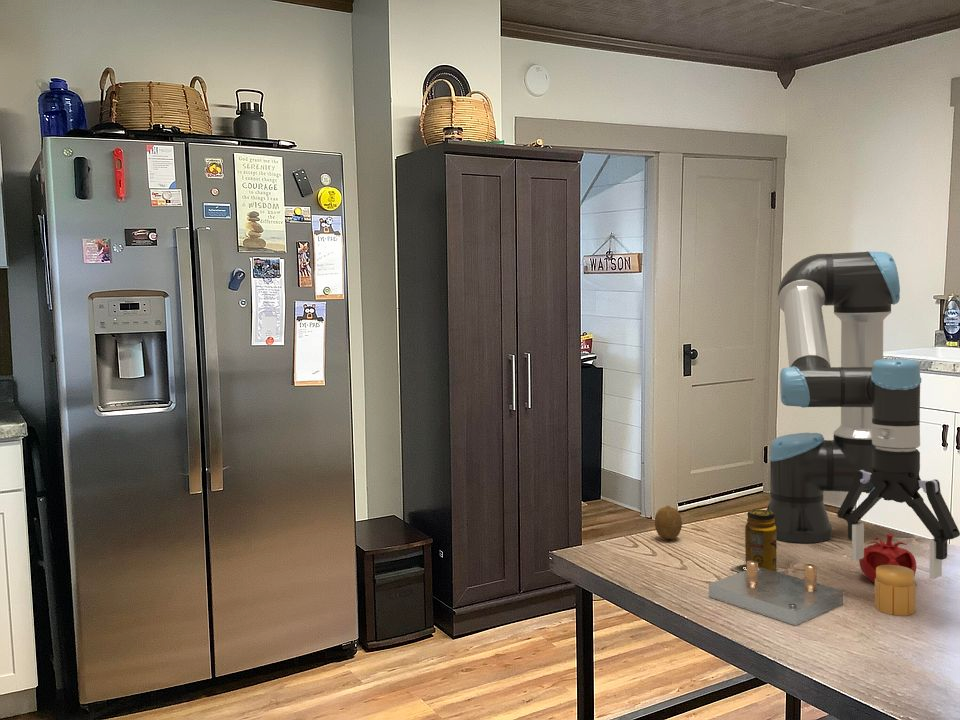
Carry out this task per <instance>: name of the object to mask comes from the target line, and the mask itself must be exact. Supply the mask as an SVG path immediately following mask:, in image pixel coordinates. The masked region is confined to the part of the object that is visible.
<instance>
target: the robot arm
mask: <svg viewBox="0 0 960 720" xmlns="http://www.w3.org/2000/svg"><path fill="white" fill-rule="evenodd" d="M900 292H901V285H900V278H899V272H898V267H897V264H896V261H895V259H894V258H893V256H892V255H891V253H888V252H886V251H869V250H867V251H856V252H853V251H852V252H838V253H837V252H836V253H817V254H816V253H815V254H813V255H809V256H807V257H804V258H803V259H801V260H799V261H798V262H796V263H795V264H793V265H792V266H791V267H790V268H789V270H788V271H786V273H785V274H784V276H783V277H782V279H781V281H780V282H779V285H778V289H777V302H778V306H779V309H781V310H782V311H783V314H784V315H783V316H784V325H785V334H786V335H785V336H786V346H787V358H788V367H783V368H782V369H781V370H780V372H779V373H780V374H779V390H780V394H779V395H780V401H781V403H782V404H783V405H784V406H787V407H801V408H832V407H833V408H840V425H839V426H838V427H837V428H836V429H835V430H834V431H833V439H832V440H831V439H826V440H825V437H824V435H823V434H822V433H819V432H797V433H790V434H785V435H781V436H778V437H776V438H774V439H773V440H771V442H770V445H769V447H770V448H769V456H768V460H769V465H770V466H769V502H768V505H767V508H766V510H768V511H771V512H773V513H774V520H775V523H774V525H775V526H776V531H777V535H776V541H777V540H779V541H783V542H789V543H800V544H801V543H802V544H804V543H805V544H810V543H811V544H812V543H821V542H825V541H828V540H830V539H831V538H832V537H833V529H832V524H831V521H830V518H829V515H828V512H827V509H826V507H825V504H824V502H825V501H824V492H844V493H846V492H847V494H846V496H845V498H844V499H843V501H842V503H841V505H840V508H839V509H838V511H837V513H836V516H837V517H838V518H839V519H843V520H845V521H846V523H847V539H848V540H849V541H851V560H852V561H859V560H860V559H862V558H864V548H865V522H862V521H861V519H863V517H864V516H865V515H866V514H867V513H868V512H869V511H870V510H871V509H872V508H873V507H874V506H875V505H876V504H877V503H878V502H879V501H880V500H881V499H883V500H884V501H888V502H889V501H894V502H896V503H901V504H903V503H905V504H906V505H907V506H908V507H910V508H911V509H912V511H913V512H914V513H915V514H916V516H917V517H918V518H919V520H920V522H922V523H923V525H924V526H925V528H926V529H927V530H928V531H929V532H930V534H931V535H932V537H933V538H932V539H929V579H932V580H935V579H938V578H940V577H942V576H943V575H942V574H943V570H942V569H943V566H942V565H943V562H942V561H943V560H945V559H947V557H948V541H949V540H953V539H956V538H959V537H960V530H959V528H958V526H957V523H956V522H955V520H954V518H953V516H952V513H951V512H950V509H949V507H948V505H947V503H946V501H945V499H944V497H943V495H942V493H941V484H940V481H939V480H938V479H932V480H922V479H921V477H920V476H921V475H920V471H921V452H920V451H919V449H917V448H919V447H920V446H921V427H920V426H921V383H922V377H921V368H920V366H921V365H920V363H919V362H918V361H917V360H914V359H908V358H885V359H884V321H885V319H886V318H887V317H888V316H890V315H891V314H892V305H896V304H897V305H898V303H899V302H900V297H901V296H900ZM823 306H825V307H826V306H833V314H834V315H835V316H836V317H837V318H838V319H839V320H840V324H841V325H840V328H841V329H840V333H841V334H840V335H841V336H840V339H841V340H840V367H839V366H838V367H837V366H836V367H835V366H834V367H833V366H832V365H831V359H830V354H829V353H830V352H829V347H828V346H829V345H828V340H827V335H826V328H825V320H824V315H823V308H822V307H823ZM831 366H832V367H831ZM920 489H922V491H923V493H925V494H926V497H927V499H928V501H929V504H930V507H931V508H932V510H933V512H934V513H933V512H932V511H931V509H930V508H929V507H928V505H927V504H926V503H925V501H924V498H923V497H922V495H921V494H920V493H919V490H920ZM862 493H866V494H868V495H867V496H866V498H865V499H863V501H862V502H861V503H859V505H858V506H857V507H856V508H855V506H856V504H857V502H858V501H859V499H860V497H861V495H862ZM854 508H855V509H854Z"/></svg>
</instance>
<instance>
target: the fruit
mask: <svg viewBox="0 0 960 720" xmlns="http://www.w3.org/2000/svg"><path fill="white" fill-rule="evenodd" d="M682 525H683V521H682V516H681V514H680V512H679V510H678V509H676V508H675V507H672V506H670V505H666V506H665V507H661V508H659V509H658V510H657V511H656V513H655V515H654V528H655V531H656V532H657V534H658V536H660V537H661V538H663V539H664V540H666V541H671V540H673V539H675V538H677V537H678V536H679V535H680V533H681V531H682V527H683V526H682Z"/></svg>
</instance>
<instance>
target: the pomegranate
mask: <svg viewBox="0 0 960 720" xmlns="http://www.w3.org/2000/svg"><path fill="white" fill-rule="evenodd" d="M893 537H894V534H892V533H887V534H886V542H884V541H883V540H882V539H881V538H880V537H876V538H874V539H873V538H872V540H873V541H870V542H867V545H868V546H866V547H864V558H862V559H860V560H858V563H859V566H860V570H861V572H862V574H863V575H864V576H865V577H866V578H867V579H868V580H869V581H871V582H872V583H874V584H875V578H876V567H877V566H880V565H898V566H903V567H907V568H910V569H912V570H913V571H914V577H915V576H916V571H917V562H916V558H915V556H914V554H913V553H912V552H910V550H908V549H906V548H902V547H899V545H908V543H906V542H902V541H898V542H896V543H893V542H892V541H893V540H894V538H893ZM877 540H878V541H879V542H877ZM870 544H871V545H870Z"/></svg>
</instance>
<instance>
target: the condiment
mask: <svg viewBox="0 0 960 720" xmlns="http://www.w3.org/2000/svg"><path fill="white" fill-rule="evenodd" d="M746 515H747V519H746V521H747V523H746V524H745V527H744V528H745V534H744V535H745V536H744V537H745V541H744V542H745V544H744V545H745V549H744V550H745V564H739V565H737V566H735V567H734V566H733V567H730V568H729V569H730V570H732V571H735V572H737V573H740V572H743V571H746V570H744V569H745V568H744V569H743V567H746V569H747V561H757V562H758V567H761V568H765V569H768V570H772V571H775V572H779V573H782V572H785V571H786V569H784V568H781V567H777V564H778V563H777V558H778V557H777V548H778V546H777V539H776V535H777V531H776V526H775V525H774V523H775V520H774V513H773V512H771V511H768V510H767V509H750V510H749V511H747V513H746Z"/></svg>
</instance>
